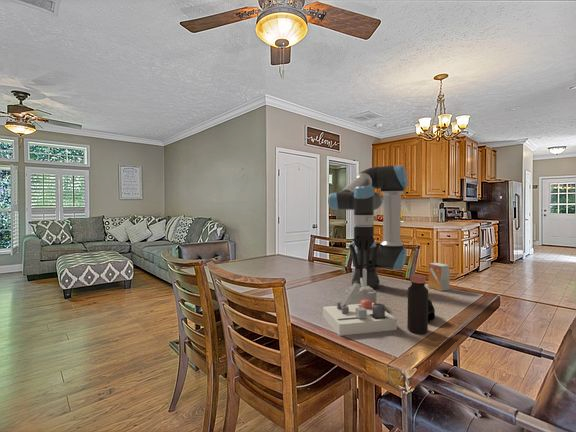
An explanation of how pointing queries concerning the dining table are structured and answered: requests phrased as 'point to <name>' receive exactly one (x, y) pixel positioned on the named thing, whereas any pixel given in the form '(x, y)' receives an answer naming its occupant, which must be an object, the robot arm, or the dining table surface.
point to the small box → (439, 276)
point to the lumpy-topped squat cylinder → (363, 295)
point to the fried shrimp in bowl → (430, 311)
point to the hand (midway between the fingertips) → (363, 285)
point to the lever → (350, 294)
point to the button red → (366, 304)
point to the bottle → (417, 305)
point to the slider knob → (361, 312)
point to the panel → (356, 320)
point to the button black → (378, 311)
